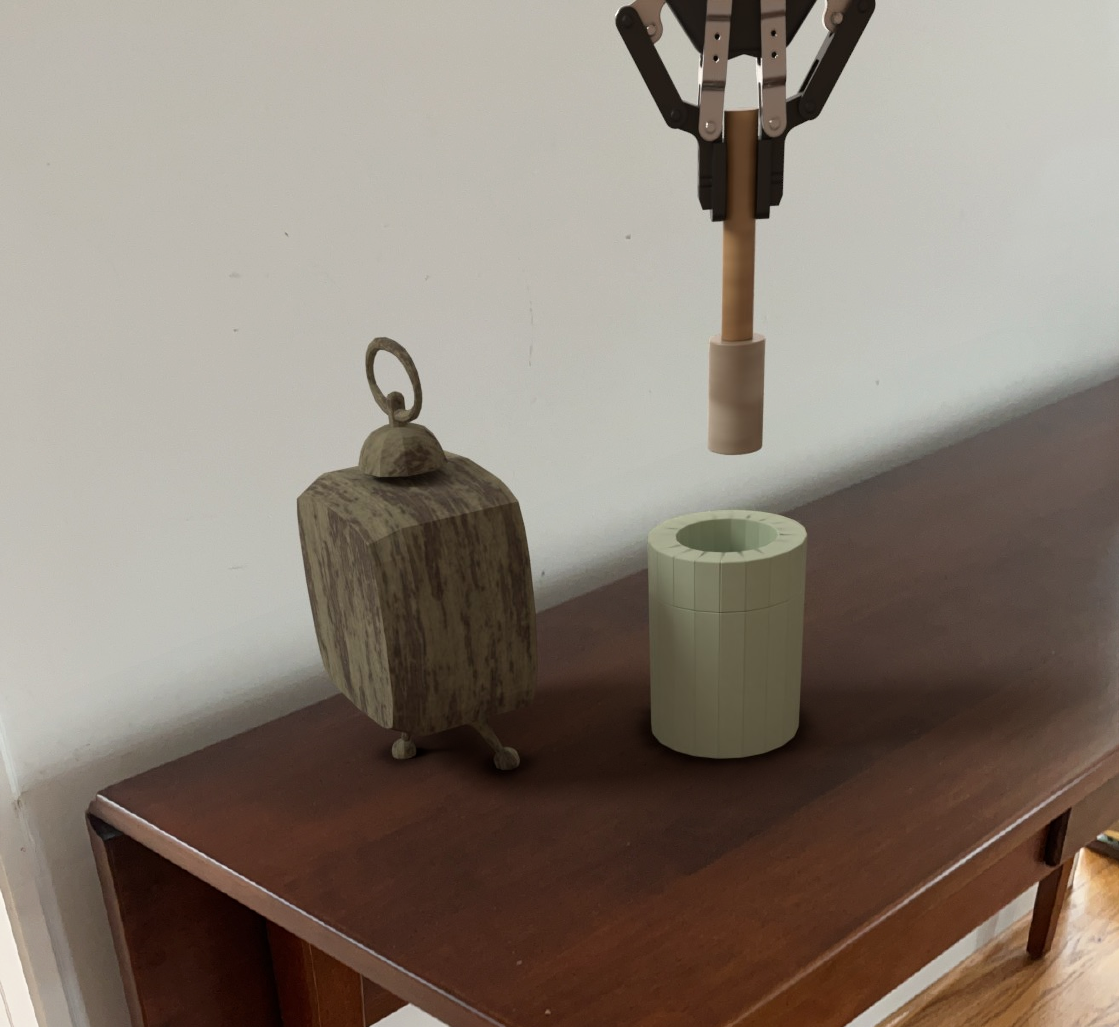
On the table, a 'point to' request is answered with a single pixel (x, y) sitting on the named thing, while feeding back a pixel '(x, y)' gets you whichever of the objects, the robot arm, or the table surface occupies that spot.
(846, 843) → the table surface
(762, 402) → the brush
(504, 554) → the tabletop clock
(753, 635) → the cylindrical container
